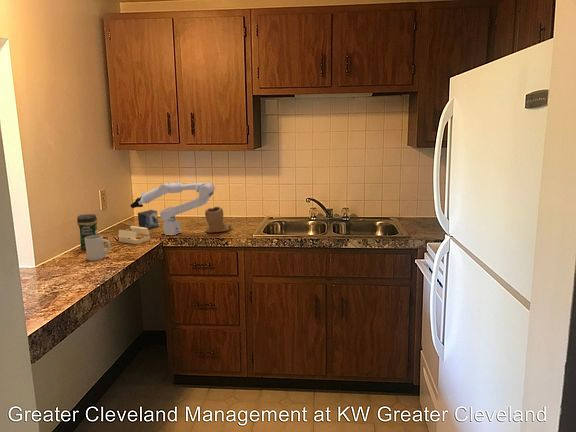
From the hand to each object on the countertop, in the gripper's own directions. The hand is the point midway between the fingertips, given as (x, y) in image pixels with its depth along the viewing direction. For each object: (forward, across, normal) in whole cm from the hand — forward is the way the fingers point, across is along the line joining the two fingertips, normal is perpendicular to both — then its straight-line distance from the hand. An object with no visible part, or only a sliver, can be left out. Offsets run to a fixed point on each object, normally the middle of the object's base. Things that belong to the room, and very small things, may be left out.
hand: (134, 204), depth 269 cm
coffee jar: (+19, +30, +8) cm, 36 cm away
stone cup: (-37, -1, +37) cm, 52 cm away
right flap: (-2, +13, +13) cm, 19 cm away
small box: (+7, -11, +19) cm, 23 cm away
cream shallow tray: (+2, +17, +17) cm, 24 cm away
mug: (+5, +47, +12) cm, 48 cm away
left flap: (+1, +20, +11) cm, 23 cm away
